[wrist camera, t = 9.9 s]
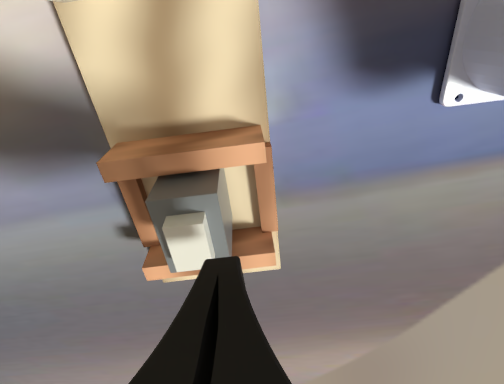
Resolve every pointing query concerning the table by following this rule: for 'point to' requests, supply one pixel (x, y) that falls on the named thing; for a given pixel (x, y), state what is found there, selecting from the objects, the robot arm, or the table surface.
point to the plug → (191, 218)
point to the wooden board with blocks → (181, 109)
